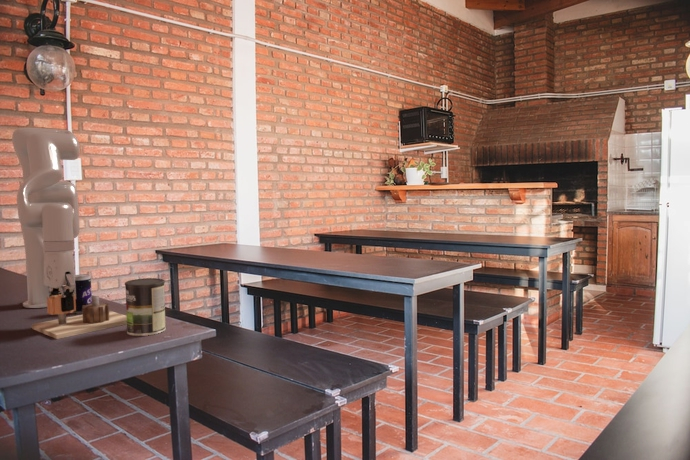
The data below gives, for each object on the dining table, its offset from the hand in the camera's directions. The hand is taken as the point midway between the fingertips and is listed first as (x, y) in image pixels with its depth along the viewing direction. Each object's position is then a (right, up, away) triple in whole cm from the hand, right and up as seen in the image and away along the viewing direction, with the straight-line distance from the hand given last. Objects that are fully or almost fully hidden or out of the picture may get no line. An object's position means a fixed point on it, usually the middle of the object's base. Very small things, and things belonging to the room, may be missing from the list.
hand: (61, 308), depth 146 cm
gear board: (+5, -5, +3) cm, 8 cm away
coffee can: (+26, -6, -3) cm, 27 cm away
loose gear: (0, -1, 0) cm, 1 cm away
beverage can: (-4, -4, +19) cm, 20 cm away
